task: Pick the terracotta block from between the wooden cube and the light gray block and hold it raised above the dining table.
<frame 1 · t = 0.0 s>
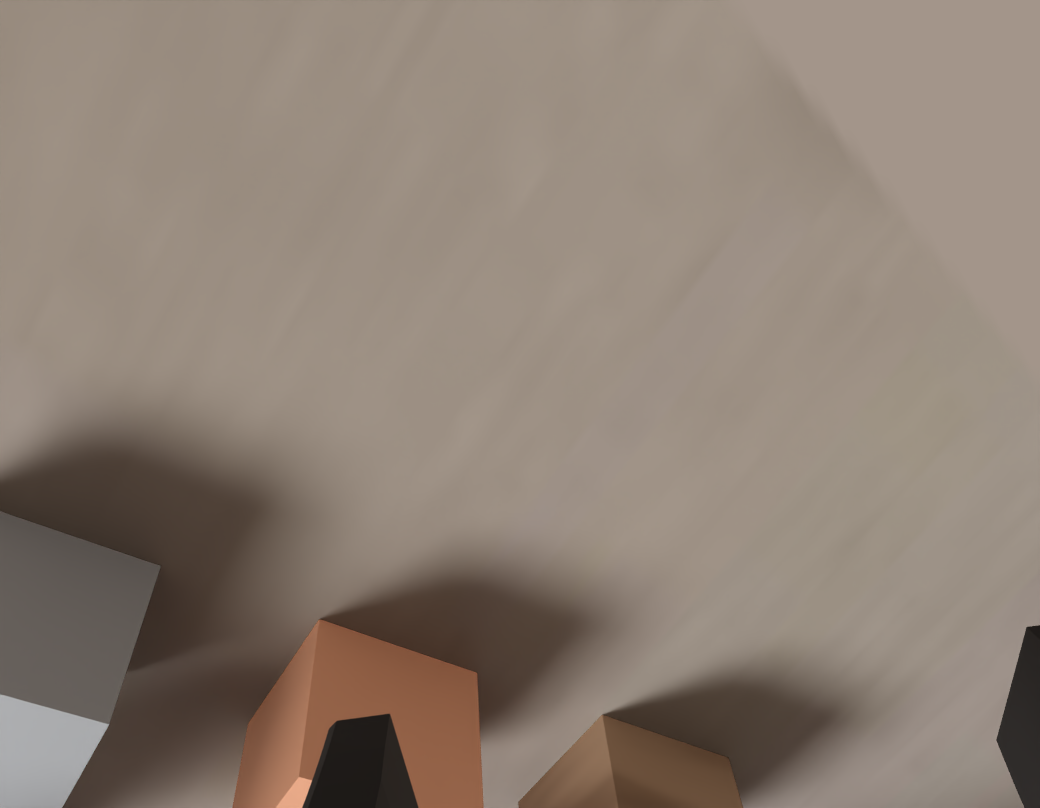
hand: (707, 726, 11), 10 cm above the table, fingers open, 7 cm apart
light gray block: (35, 593, 23), on the table
terracotta block: (361, 696, 26), on the table
wooden cube: (622, 777, 29), on the table
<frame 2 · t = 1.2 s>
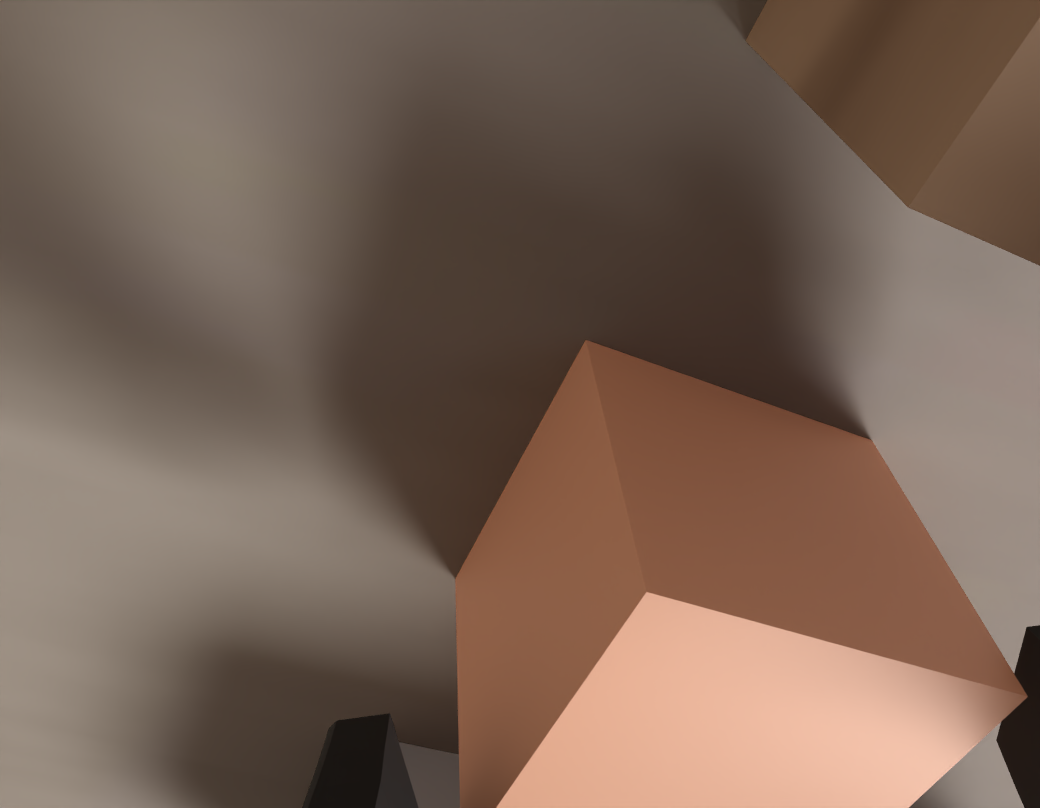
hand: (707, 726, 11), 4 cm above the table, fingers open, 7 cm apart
terracotta block: (655, 508, 14), on the table
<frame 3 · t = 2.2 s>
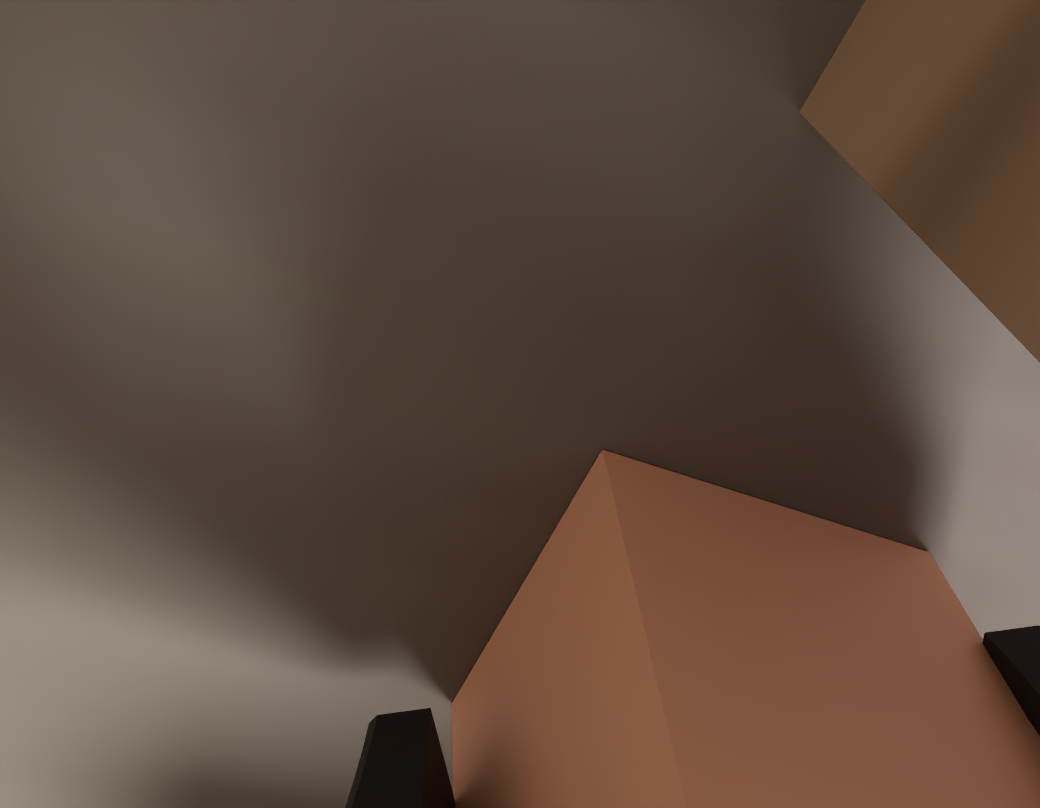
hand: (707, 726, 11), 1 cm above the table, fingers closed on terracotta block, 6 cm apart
terracotta block: (681, 631, 12), on the table, touching gripper
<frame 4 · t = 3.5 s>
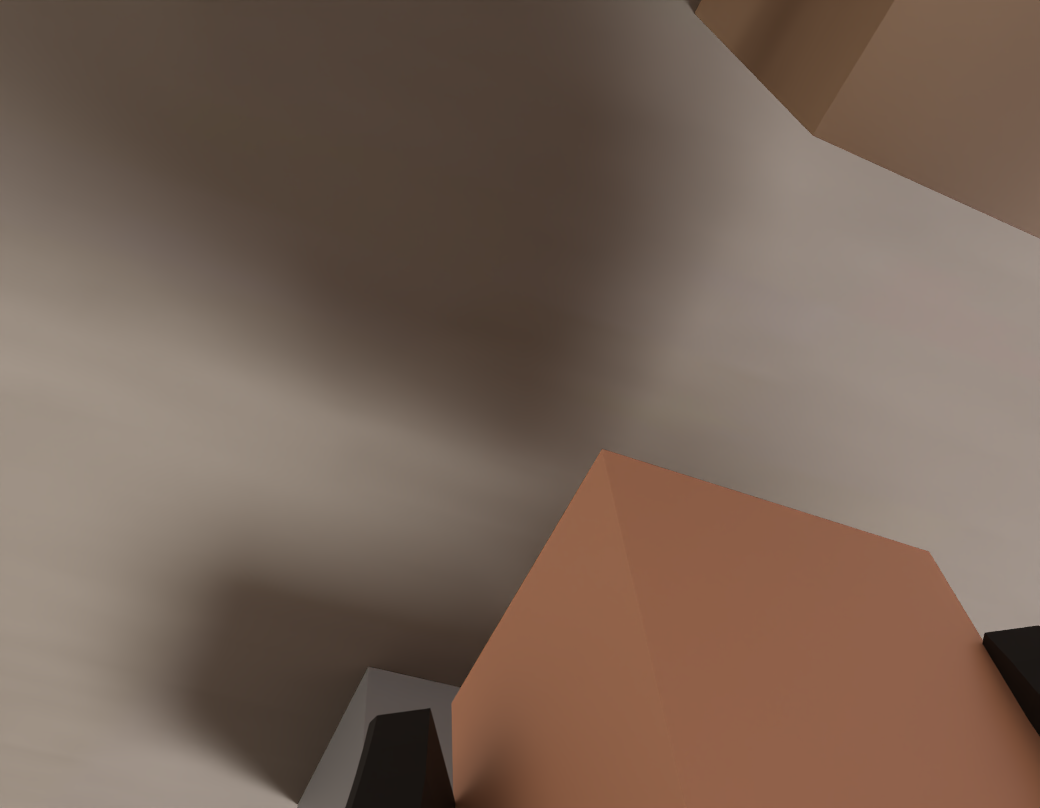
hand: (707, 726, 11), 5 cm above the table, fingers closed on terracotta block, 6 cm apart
light gray block: (437, 757, 20), on the table
terracotta block: (680, 630, 12), point 4 cm above the table, touching gripper
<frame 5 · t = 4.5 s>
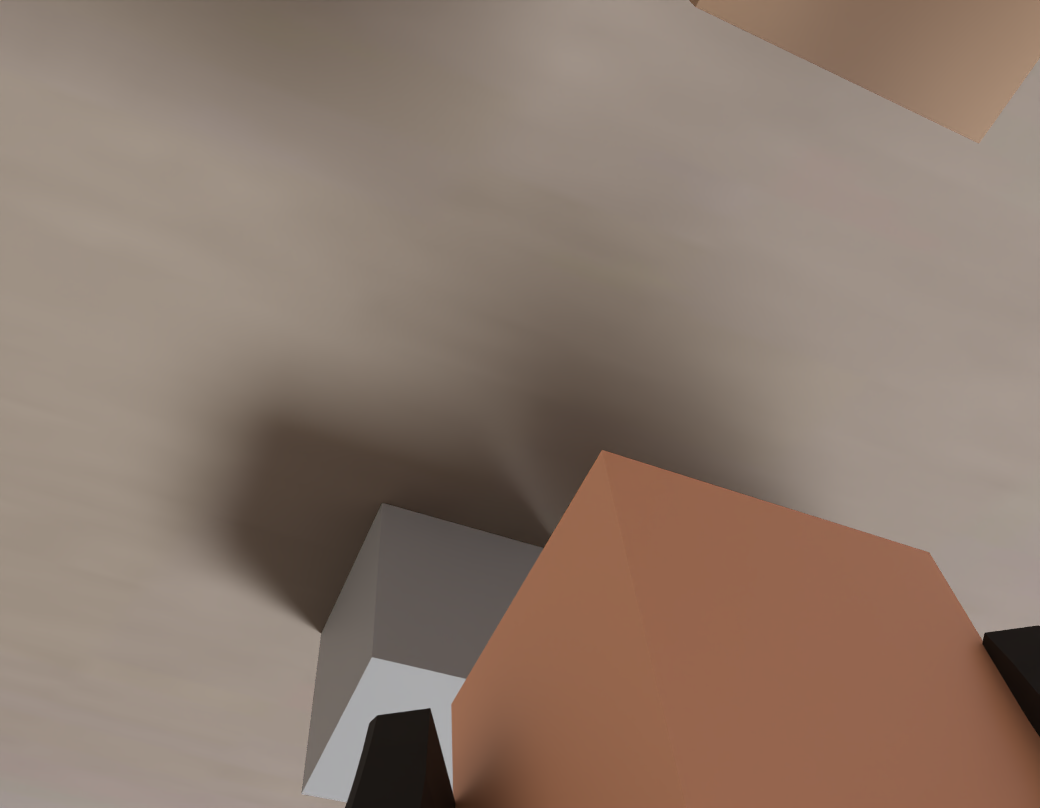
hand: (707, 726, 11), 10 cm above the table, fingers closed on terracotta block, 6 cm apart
light gray block: (439, 591, 24), on the table
terracotta block: (680, 631, 12), point 8 cm above the table, touching gripper
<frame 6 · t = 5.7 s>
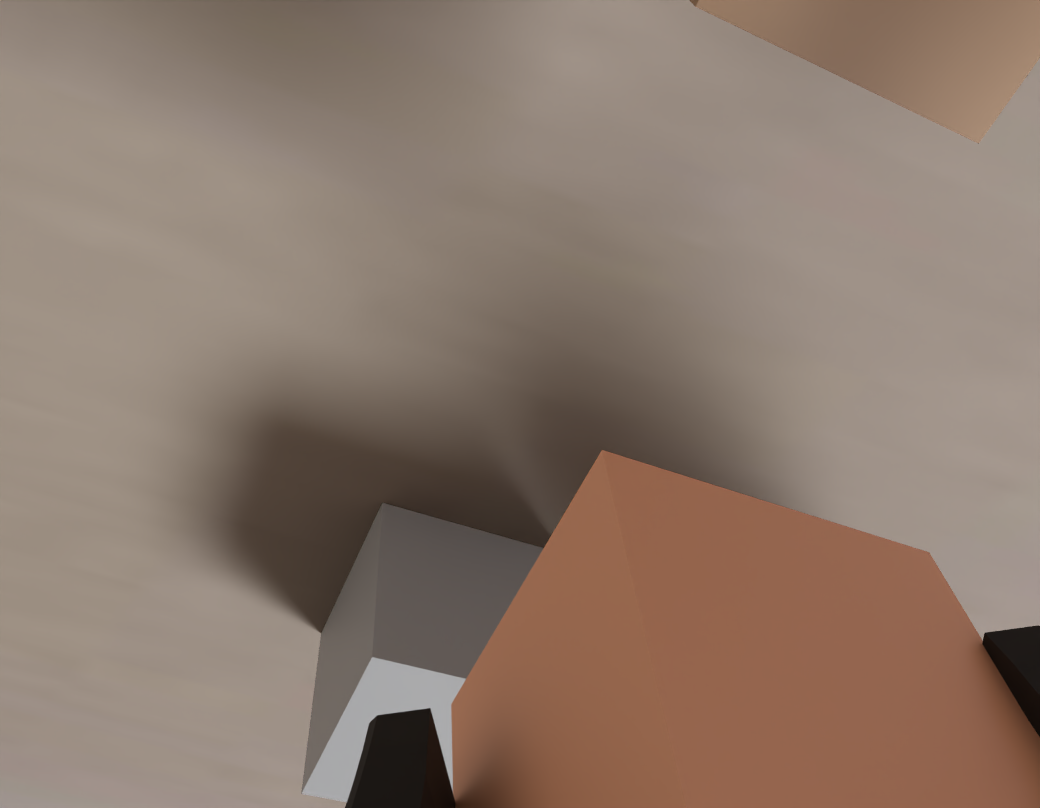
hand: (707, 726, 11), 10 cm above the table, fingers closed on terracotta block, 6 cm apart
light gray block: (439, 591, 24), on the table
terracotta block: (680, 631, 12), point 8 cm above the table, touching gripper
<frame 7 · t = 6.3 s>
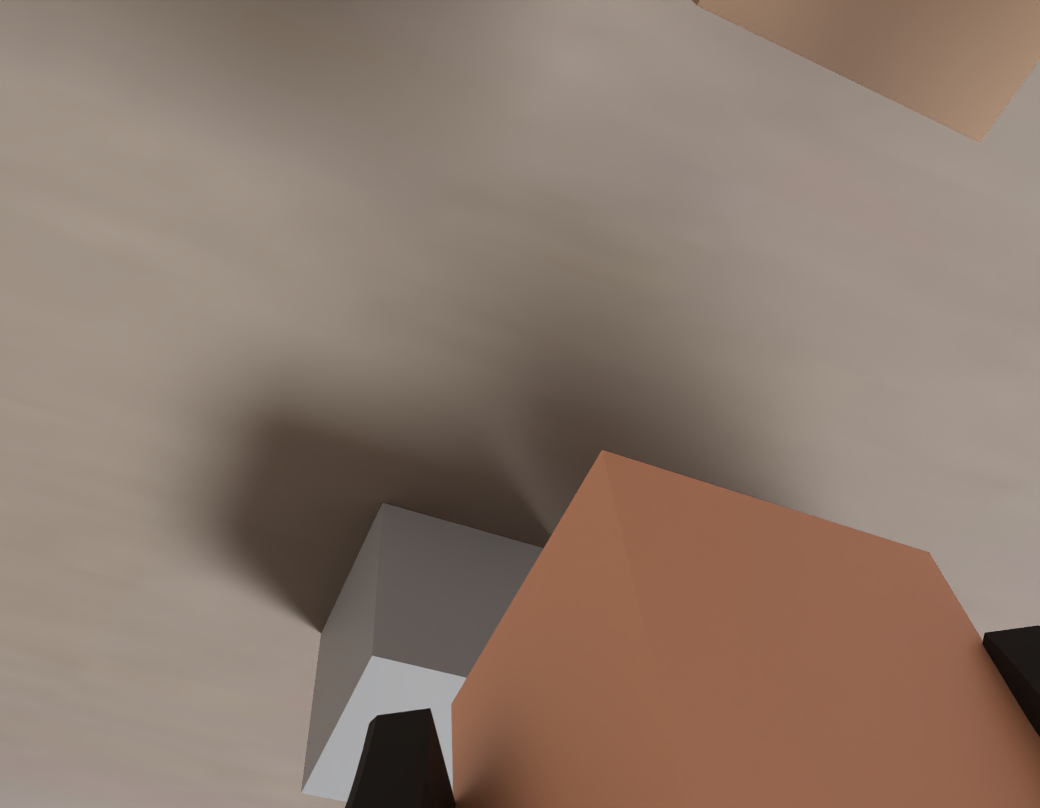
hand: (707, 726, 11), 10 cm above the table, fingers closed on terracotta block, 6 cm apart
light gray block: (439, 591, 24), on the table
terracotta block: (680, 631, 12), point 8 cm above the table, touching gripper
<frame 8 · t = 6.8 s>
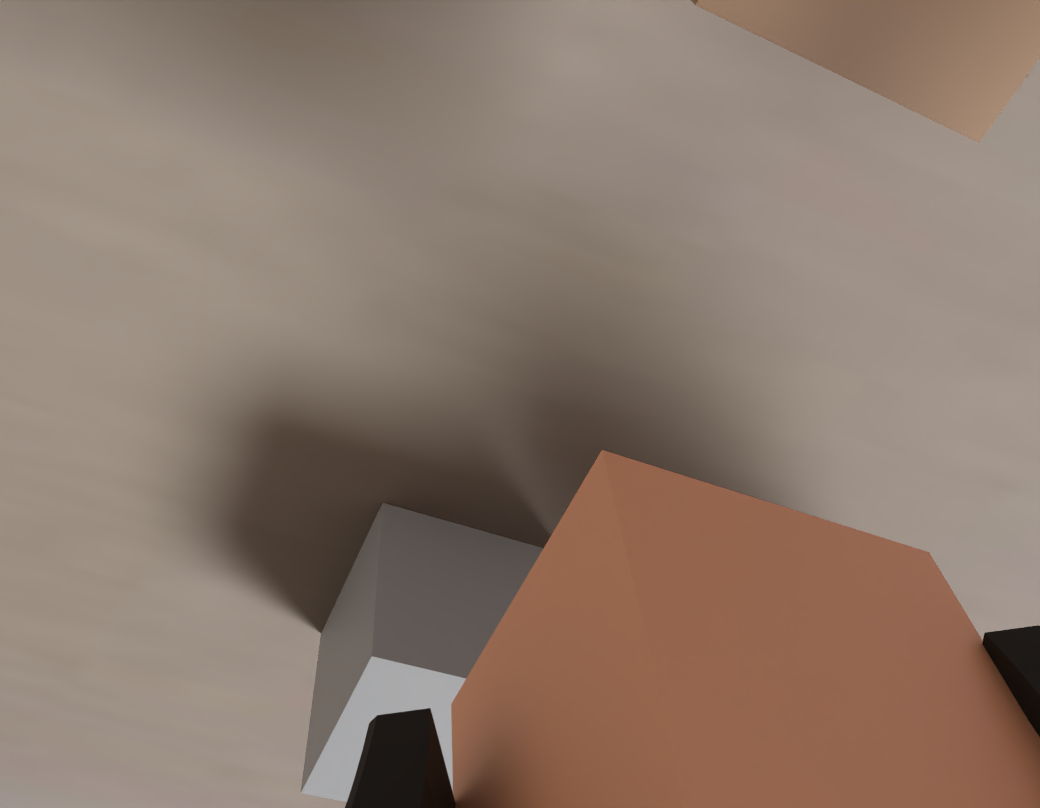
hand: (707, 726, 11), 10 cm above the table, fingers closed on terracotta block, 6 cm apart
light gray block: (439, 591, 24), on the table
terracotta block: (680, 631, 12), point 8 cm above the table, touching gripper
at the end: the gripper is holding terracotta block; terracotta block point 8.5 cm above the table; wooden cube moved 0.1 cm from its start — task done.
